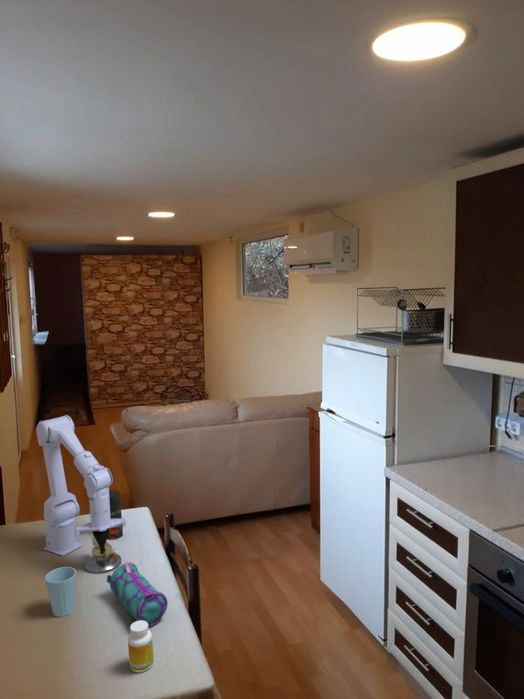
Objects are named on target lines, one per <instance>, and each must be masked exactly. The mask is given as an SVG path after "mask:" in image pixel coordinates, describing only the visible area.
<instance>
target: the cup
mask: <svg viewBox="0 0 524 699" xmlns="http://www.w3.org/2000/svg"><path fill="white" fill-rule="evenodd" d="M76 576H77V570H76V569H75V568H73V567H70V566H63V567H62V566H61V567H57V568H55V569H52V570H51V571H49V572H48V573H47V574H46V575H45V577H44V580H45V584H46V588H47V589H46V590H47V592H48V597H49V602H50V606H51V611H52V615H53V616H54V617H57V618H62V617H67V616H69V615H71V614H72V613H73V612H74V611H75V608H76V581H77V580H76V579H77V577H76Z"/></svg>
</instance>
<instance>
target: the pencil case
mask: <svg viewBox="0 0 524 699" xmlns="http://www.w3.org/2000/svg"><path fill="white" fill-rule="evenodd" d="M106 576H107V577H106V583H107V584H109V588H110V589H111V592H112V593H113V594H114V596H115V597H116V599H118V601H119V602H120V603H121V605H122V606H123V607H124V608H125V610H126V611H127V612H128V613H129V614H130V615H131V616H132V617H133V618H134V619H135V620H136V621H140V620H142V621H146V622H147V623H148V628H152V627H154V626H156V625H157V624H158V623H159V622H160V620H162V618H163V616H164V615H165V613H166V611H167V610H168V605H169V604H168V599H167V597H166V595H165V594H164V593H163V592H160V591H158V590H157V589H156V587H154V586H153V585H152V584H151V583H150V582H149V581H148V579H147V578H146V577H144V576H143V575H142V574H141V573H140V572H139V570H138V567H137V565H136V563H134V562H131V561H130V562H125V563H123V564H120V566H119V567H117V568H116V569H114V570H113V572H112V575H110V574H108V575H106Z"/></svg>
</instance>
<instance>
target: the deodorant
mask: <svg viewBox="0 0 524 699" xmlns="http://www.w3.org/2000/svg"><path fill="white" fill-rule="evenodd" d="M109 500H110V518H111V519H120V518H123V516H122V502H121V492H120V491H118V490H109ZM123 528H124V527H123V526H120V527H115V528H109V536H108V538H107V541H108V540H109V541H115V540H118V539H120V538H122V537H123V536H124V532H123Z"/></svg>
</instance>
